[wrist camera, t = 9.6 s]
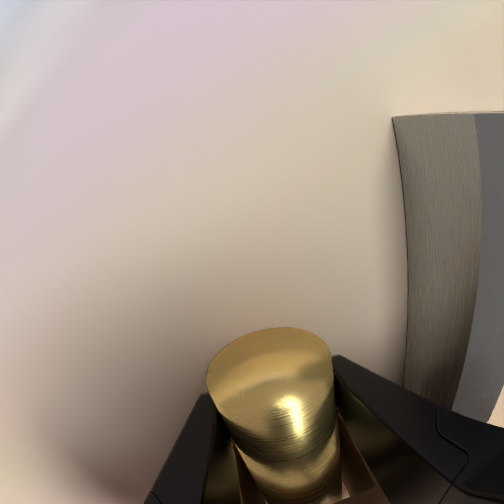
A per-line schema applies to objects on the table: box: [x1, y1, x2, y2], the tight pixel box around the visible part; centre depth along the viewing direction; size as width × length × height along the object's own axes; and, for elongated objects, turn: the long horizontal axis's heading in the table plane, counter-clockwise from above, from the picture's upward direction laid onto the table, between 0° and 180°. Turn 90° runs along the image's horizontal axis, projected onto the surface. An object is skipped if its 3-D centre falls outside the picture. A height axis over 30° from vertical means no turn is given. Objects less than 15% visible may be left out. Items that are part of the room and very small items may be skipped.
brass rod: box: [206, 328, 342, 504], centre depth 9 cm, size 11×3×3 cm, turn 14°
